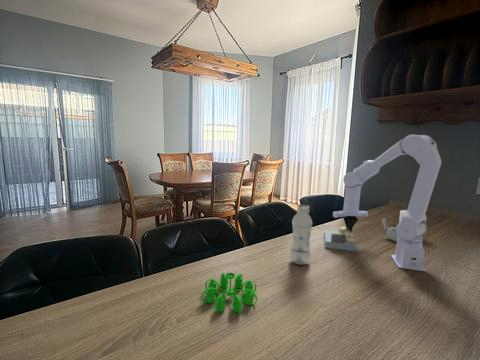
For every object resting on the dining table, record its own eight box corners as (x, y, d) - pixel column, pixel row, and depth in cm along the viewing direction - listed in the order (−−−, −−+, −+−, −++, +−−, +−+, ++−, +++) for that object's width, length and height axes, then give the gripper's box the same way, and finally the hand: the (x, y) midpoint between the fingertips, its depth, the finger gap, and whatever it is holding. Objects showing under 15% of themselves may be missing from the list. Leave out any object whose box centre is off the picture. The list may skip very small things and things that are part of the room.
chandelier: (244, 326, 60) (245, 298, 58) (189, 307, 66) (189, 282, 64) (266, 291, 73) (267, 268, 72) (218, 278, 79) (219, 257, 78)
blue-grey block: (355, 251, 99) (356, 237, 99) (325, 247, 102) (326, 234, 101) (350, 238, 112) (352, 226, 111) (323, 235, 115) (324, 223, 114)
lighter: (397, 240, 111) (400, 222, 109) (395, 241, 110) (398, 223, 109) (381, 235, 117) (383, 218, 115) (379, 235, 116) (381, 218, 115)
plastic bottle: (310, 268, 86) (314, 209, 82) (289, 266, 87) (293, 208, 84) (309, 259, 92) (313, 204, 88) (289, 257, 93) (293, 203, 90)
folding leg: (354, 242, 101) (354, 234, 101) (347, 242, 101) (348, 234, 101) (345, 233, 110) (345, 226, 109) (339, 233, 110) (339, 226, 109)
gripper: (361, 198, 111) (358, 229, 113) (330, 199, 108) (327, 230, 111) (372, 203, 104) (369, 235, 107) (339, 203, 102) (336, 236, 104)
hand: (348, 233), depth 108 cm, fingers closed, pressing on folding leg
